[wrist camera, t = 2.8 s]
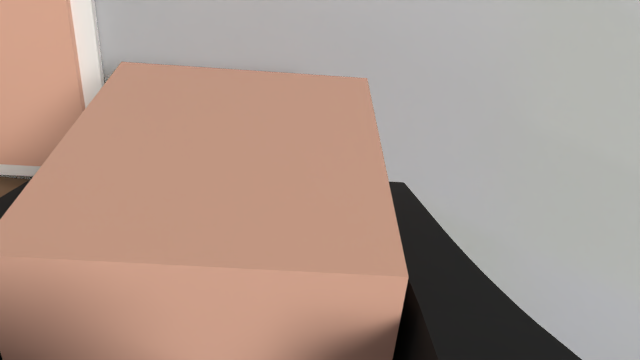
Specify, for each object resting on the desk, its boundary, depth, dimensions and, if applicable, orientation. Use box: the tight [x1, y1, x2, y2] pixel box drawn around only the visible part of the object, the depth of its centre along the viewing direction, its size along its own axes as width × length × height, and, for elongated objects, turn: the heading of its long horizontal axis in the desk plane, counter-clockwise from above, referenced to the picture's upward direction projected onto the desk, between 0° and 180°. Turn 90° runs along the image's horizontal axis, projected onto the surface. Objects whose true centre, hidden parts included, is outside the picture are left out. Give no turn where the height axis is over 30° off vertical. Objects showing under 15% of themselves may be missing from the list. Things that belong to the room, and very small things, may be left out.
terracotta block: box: [0, 62, 409, 360], centre depth 9 cm, size 4×4×5 cm
